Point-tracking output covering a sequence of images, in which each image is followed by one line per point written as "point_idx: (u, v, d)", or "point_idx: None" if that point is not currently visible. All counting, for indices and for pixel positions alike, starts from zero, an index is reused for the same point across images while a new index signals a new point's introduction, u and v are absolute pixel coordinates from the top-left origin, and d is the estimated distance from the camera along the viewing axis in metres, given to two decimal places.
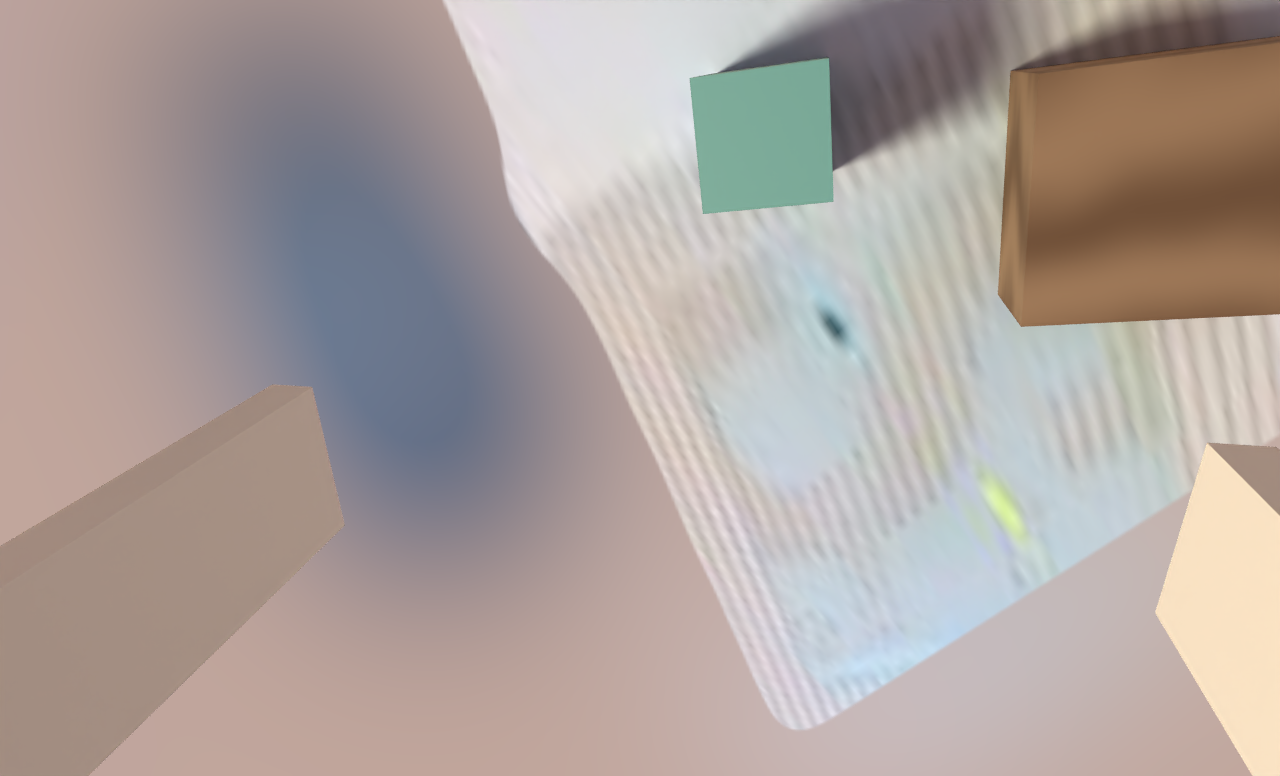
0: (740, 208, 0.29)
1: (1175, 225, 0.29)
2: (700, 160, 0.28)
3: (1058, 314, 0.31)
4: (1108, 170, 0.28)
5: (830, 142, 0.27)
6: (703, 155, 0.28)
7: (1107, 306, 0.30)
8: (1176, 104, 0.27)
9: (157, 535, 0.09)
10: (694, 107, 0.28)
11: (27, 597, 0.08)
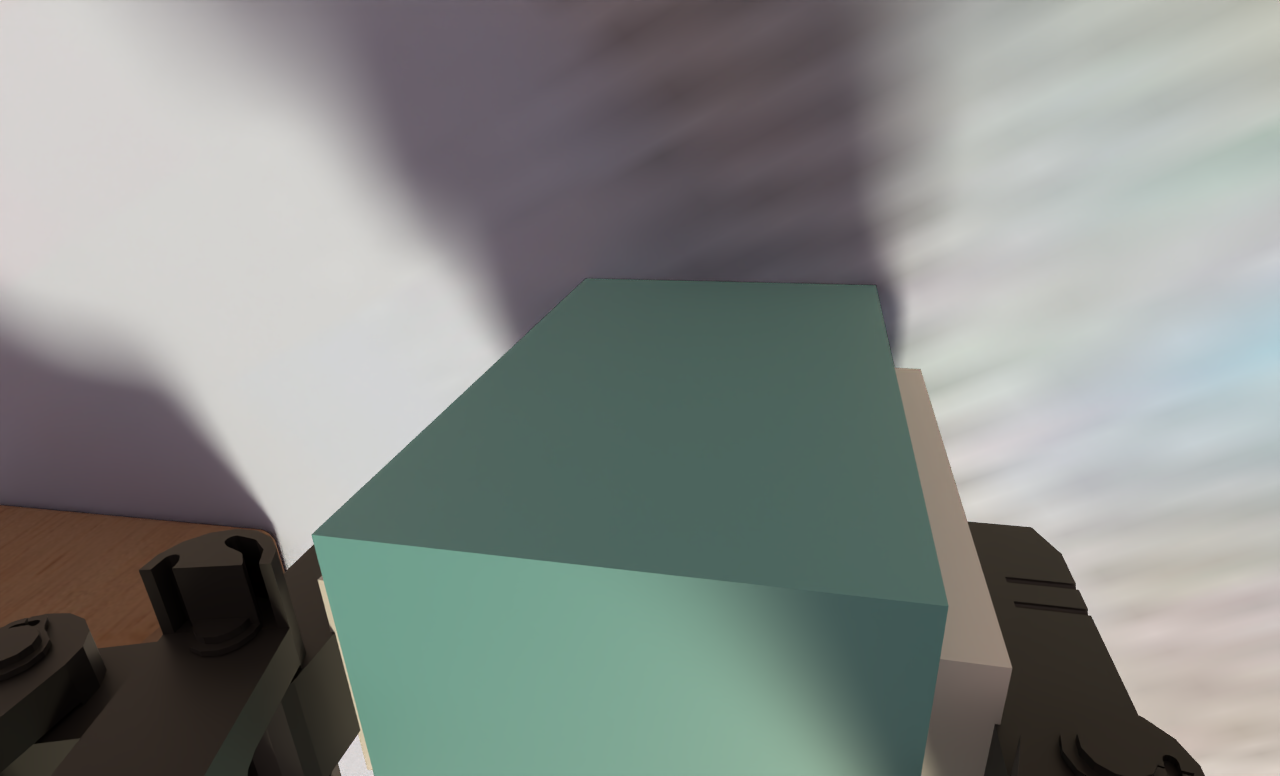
0: None
1: None
2: None
3: None
4: None
5: (642, 577, 0.06)
6: None
7: None
8: None
9: None
10: None
11: None
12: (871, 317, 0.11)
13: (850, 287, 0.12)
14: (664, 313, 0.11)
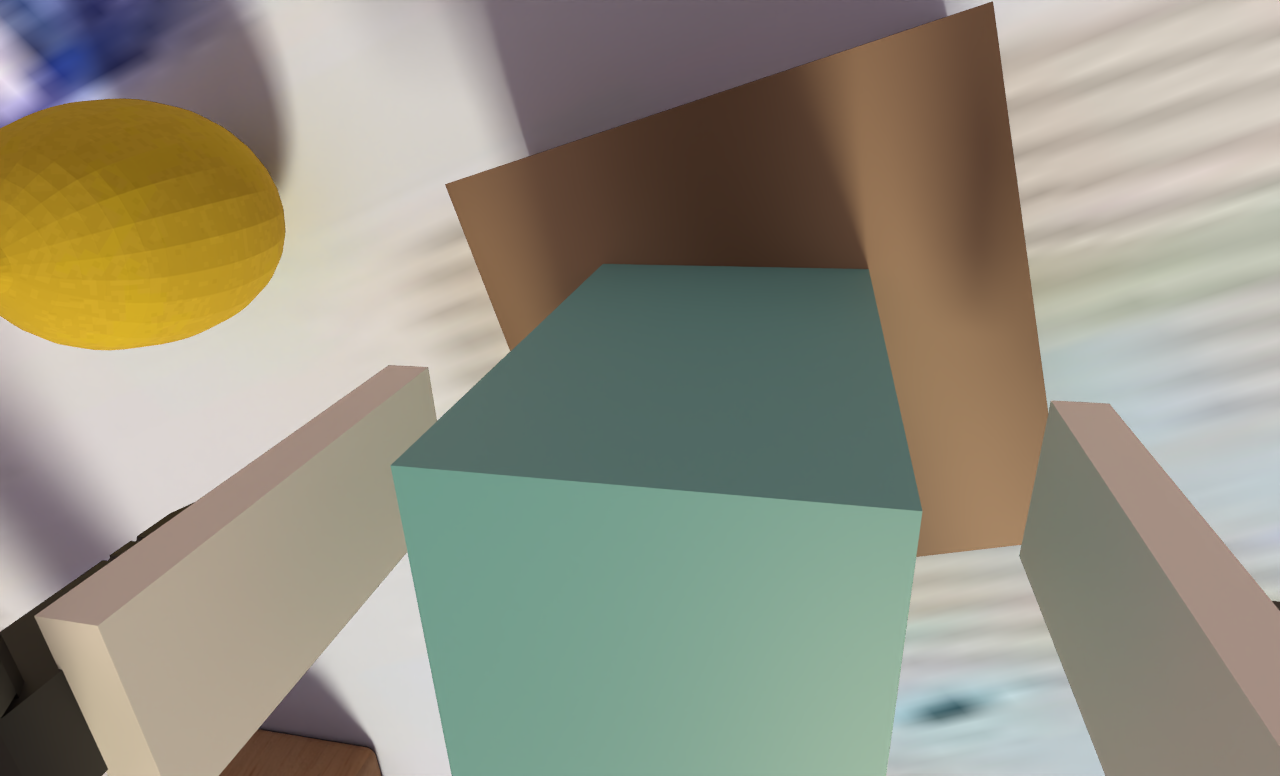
0: None
1: None
2: None
3: (1030, 482, 0.14)
4: None
5: (671, 494, 0.07)
6: None
7: (1003, 402, 0.14)
8: None
9: (315, 501, 0.10)
10: None
11: (224, 552, 0.08)
12: (863, 295, 0.12)
13: (845, 271, 0.13)
14: (677, 293, 0.12)
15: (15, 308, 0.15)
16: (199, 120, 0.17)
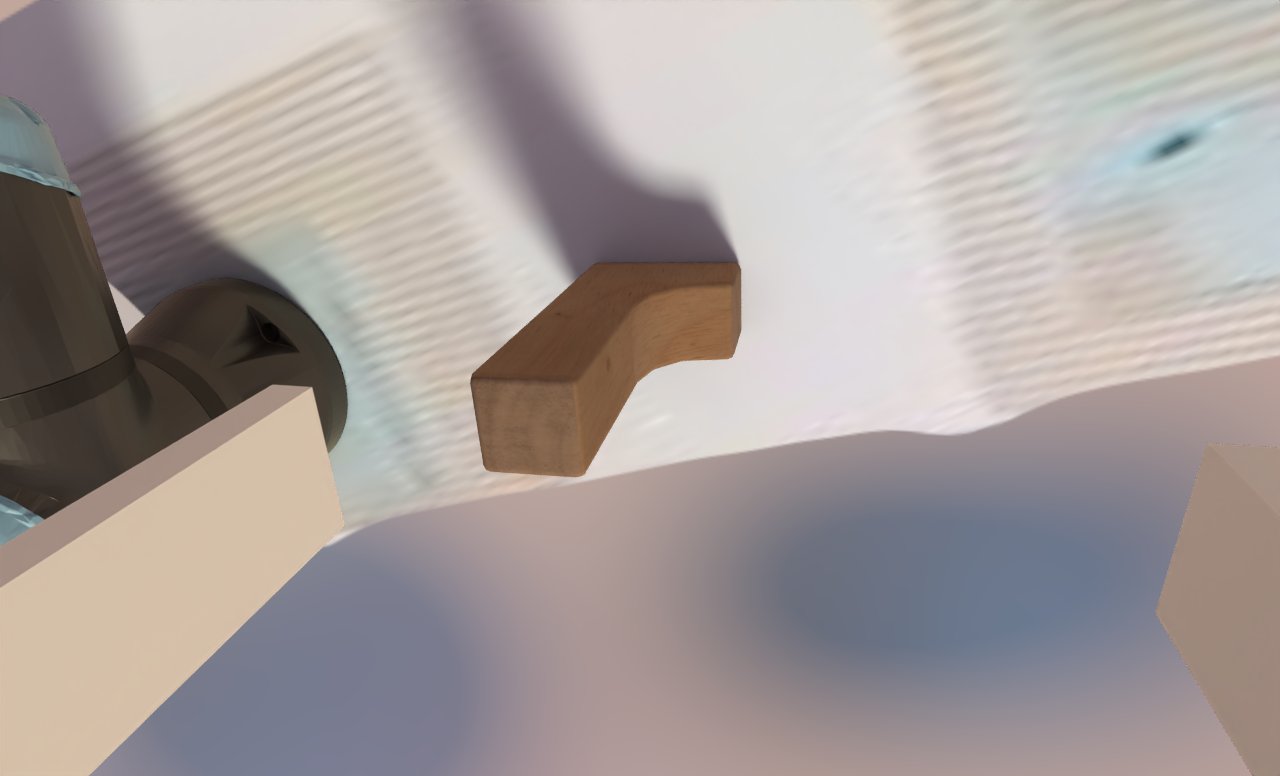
0: None
1: None
2: None
3: None
4: None
5: None
6: None
7: None
8: None
9: (157, 535, 0.09)
10: None
11: (27, 597, 0.08)
12: None
13: None
14: None
15: None
16: None
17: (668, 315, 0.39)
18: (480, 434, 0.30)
